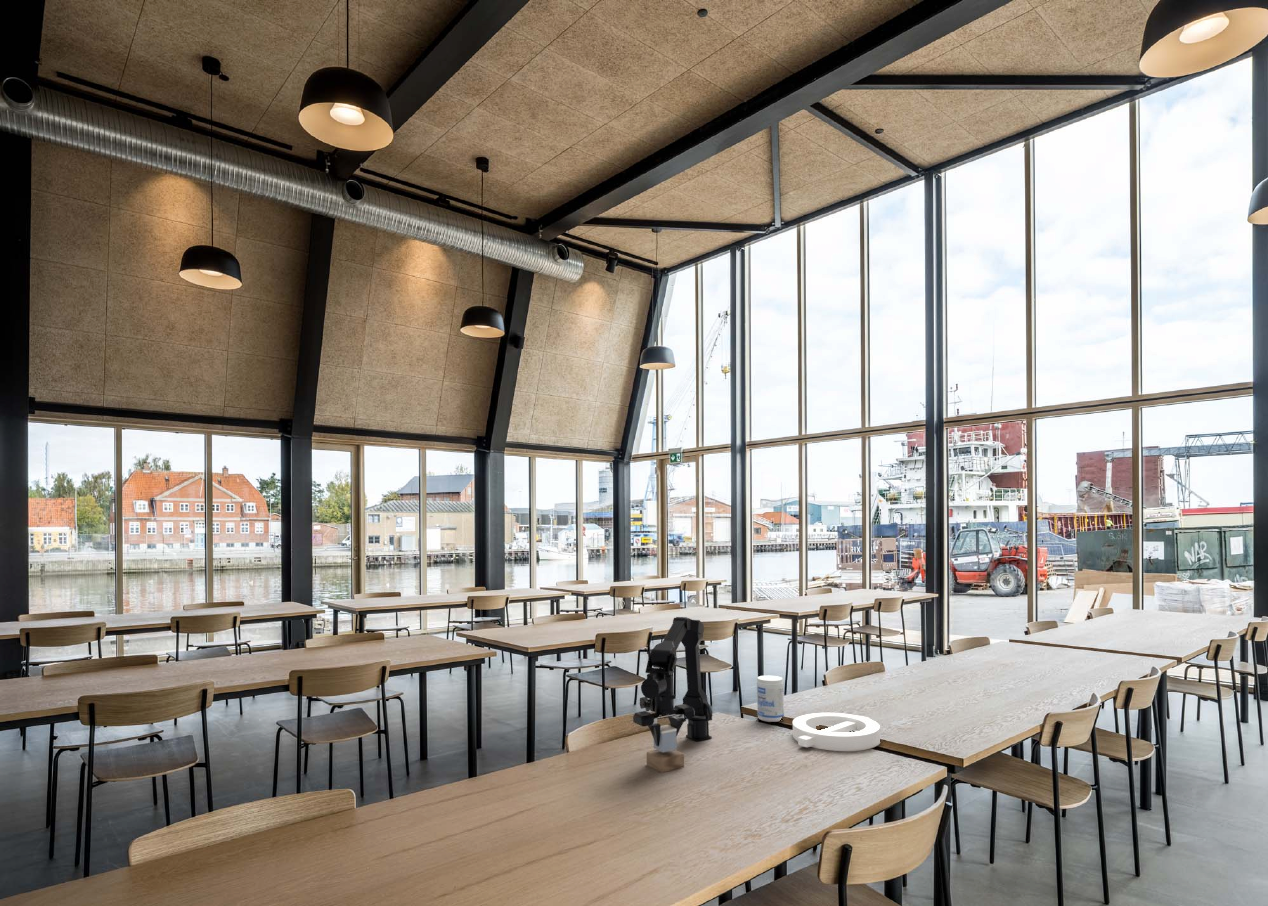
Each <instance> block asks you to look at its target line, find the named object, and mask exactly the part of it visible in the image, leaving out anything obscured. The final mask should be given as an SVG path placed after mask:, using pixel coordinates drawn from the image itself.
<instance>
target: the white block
mask: <svg viewBox="0 0 1268 906" xmlns="http://www.w3.org/2000/svg"><path fill="white" fill-rule="evenodd" d="M676 731H677V729H676V728H674V727H672V726H670V725H669V724H662V725H660V742H659V746H656V744H655V741H654V740H653V749H654V750H659V751H661V752H667V751H672V750H676V751H678V750H677V748H678V747H677V746H678V744H677V737H676Z"/></svg>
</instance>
